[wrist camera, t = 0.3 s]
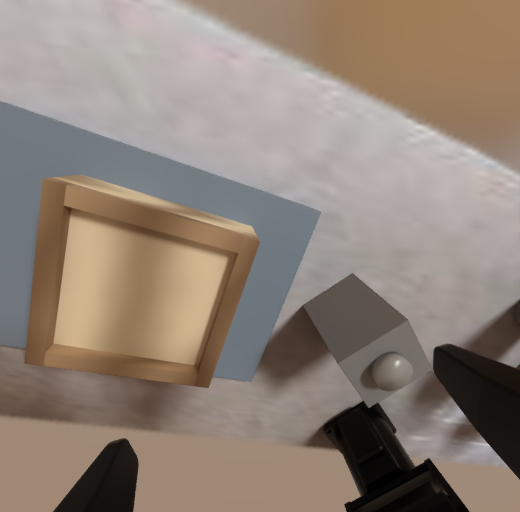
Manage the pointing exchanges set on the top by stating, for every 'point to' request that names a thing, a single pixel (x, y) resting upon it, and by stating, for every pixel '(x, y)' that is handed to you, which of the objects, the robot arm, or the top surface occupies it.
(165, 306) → the wooden tray
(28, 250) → the board
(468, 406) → the robot arm
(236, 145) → the top surface
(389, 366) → the block
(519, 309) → the beverage cup
